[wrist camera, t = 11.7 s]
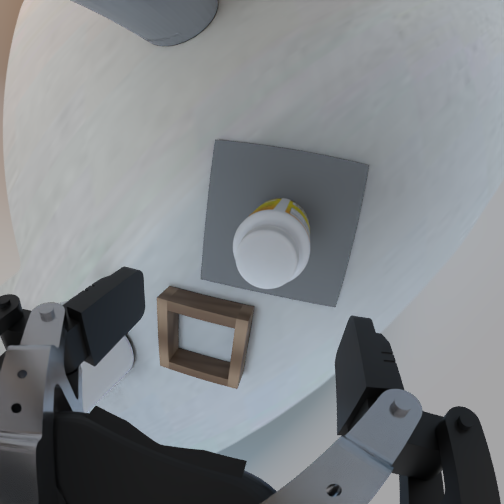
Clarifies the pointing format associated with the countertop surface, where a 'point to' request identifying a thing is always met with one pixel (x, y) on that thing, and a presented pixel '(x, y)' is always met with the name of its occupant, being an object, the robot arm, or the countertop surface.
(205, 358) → the collar holder
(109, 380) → the coffeepot
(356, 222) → the rubber mat
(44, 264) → the countertop surface
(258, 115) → the countertop surface
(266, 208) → the supplement bottle
